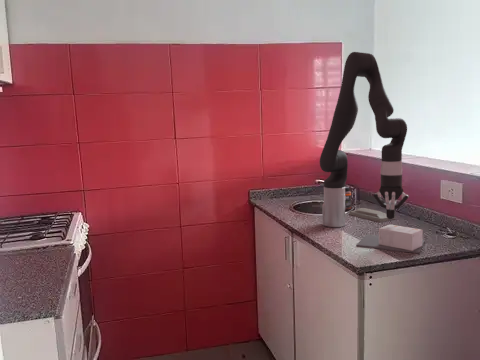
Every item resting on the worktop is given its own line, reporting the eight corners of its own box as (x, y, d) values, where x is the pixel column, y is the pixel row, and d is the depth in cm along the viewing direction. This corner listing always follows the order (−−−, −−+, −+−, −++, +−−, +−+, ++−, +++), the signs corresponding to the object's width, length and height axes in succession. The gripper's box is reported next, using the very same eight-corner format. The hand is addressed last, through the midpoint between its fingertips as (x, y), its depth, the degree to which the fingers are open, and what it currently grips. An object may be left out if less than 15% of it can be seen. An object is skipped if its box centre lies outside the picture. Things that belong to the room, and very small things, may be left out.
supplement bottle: (344, 206, 237) (344, 185, 236) (353, 208, 233) (353, 187, 231) (337, 208, 234) (337, 187, 232) (346, 210, 229) (346, 188, 227)
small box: (378, 244, 167) (412, 251, 158) (378, 228, 166) (412, 233, 157) (389, 240, 173) (422, 246, 163) (389, 224, 172) (422, 229, 162)
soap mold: (380, 223, 202) (380, 216, 202) (348, 215, 220) (348, 208, 219) (395, 220, 207) (396, 212, 207) (363, 212, 225) (363, 206, 224)
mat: (356, 246, 168) (356, 244, 168) (366, 235, 182) (366, 234, 182) (419, 253, 157) (419, 251, 157) (425, 241, 171) (425, 239, 171)
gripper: (370, 173, 166) (370, 219, 168) (408, 175, 159) (407, 222, 162) (375, 171, 172) (375, 215, 175) (411, 172, 166) (411, 218, 168)
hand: (390, 218), depth 168 cm, fingers closed
